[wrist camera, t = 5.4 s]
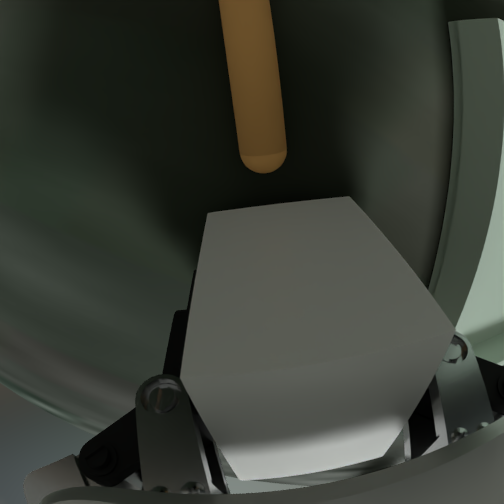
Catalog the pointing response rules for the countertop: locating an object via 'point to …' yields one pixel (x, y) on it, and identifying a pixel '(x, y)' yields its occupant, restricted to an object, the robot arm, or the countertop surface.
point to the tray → (475, 192)
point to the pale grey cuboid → (306, 338)
